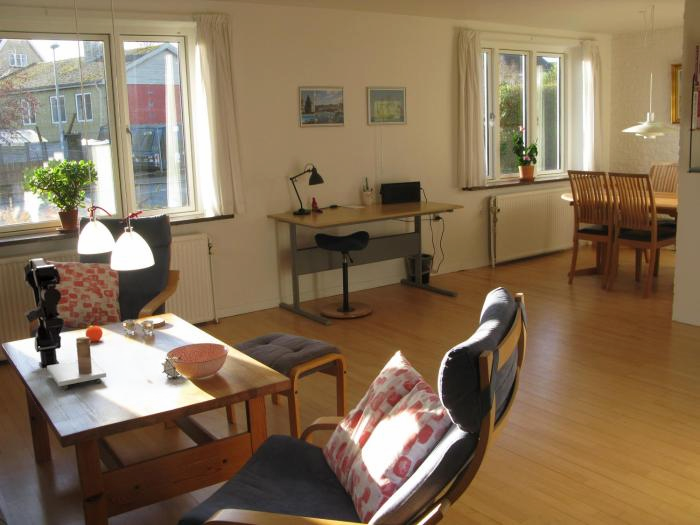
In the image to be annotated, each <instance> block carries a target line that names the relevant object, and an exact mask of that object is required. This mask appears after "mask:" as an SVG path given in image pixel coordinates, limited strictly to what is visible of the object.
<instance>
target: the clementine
mask: <svg viewBox="0 0 700 525" xmlns="http://www.w3.org/2000/svg"><path fill="white" fill-rule="evenodd" d="M84 330H85V337H89V338H90V342H94V343H95V342H98V341H99V340H101V339H102V337H103V330H102V328H101V327H100V326H98V325H88V327H87V328H85V329H84Z"/></svg>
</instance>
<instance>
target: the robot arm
mask: <svg viewBox="0 0 700 525" xmlns="http://www.w3.org/2000/svg"><path fill="white" fill-rule="evenodd" d="M22 273H23V274H22V275H23V281H24V282H26V287H27V288H28V289H29V290H30V291H31V293H32V296H33V301H34V308H32V309H30V310H27V311H25V312H23V315H24V317H25V319H26V321H27V322H28V323H33V322H35V320H37V322H38V323H37V324H38V328H37V330H36V333H35V336H34V337H35V338H34V350H35V351H36V352H37V353H39V354H40V355H39V356H40V362H38V364H39V366H40V367H41V368H47V366H49V365H55V364H60V362H59V361H58V358H57V349H61V348H62V345H61V344H62V342H61V341H62V336H60V334H61V332H62V329H63V327H64V325H65V322H64V318H63V317H61V316H60V312H59V309H58V305H59V302H60V301H61V299H62V293H61V292H60V290H58V289H57V287H56V286H57V285H60V284H61V283H60V282H61V276H60V271H59V269H58V268H57V267H55V265H54V264H47V263H46V262H45V260H44V258H41V257H40V258H31V259H29V260H28V263H27V264H26V265H25V266H24V267H23V272H22Z"/></svg>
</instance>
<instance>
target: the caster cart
mask: <svg viewBox="0 0 700 525" xmlns="http://www.w3.org/2000/svg"><path fill="white" fill-rule="evenodd" d="M91 366H92V372H91V373H89V374H79V370H78V359H77V360H72V361H71V360H70V361H67V362H59V364H55V365H49V366H47V367H46V368H47V369H46V370H47V372H48V373H49V374H50V376H51V377H52V379H53V380H54V382H55V383H56V385H57V386H58V387H61V386H62V388H63V391H68V390H69V385H72V384H77V383H83V382H88V381H93V380H95V384H96V385H97V384H101V379H103V378H107V373H106V371H105V370H104V369H103V368H102V367H101V366H100V365H99V364H98V362H96V361H95V359H93V357H91Z"/></svg>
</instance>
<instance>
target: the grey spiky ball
mask: <svg viewBox="0 0 700 525" xmlns="http://www.w3.org/2000/svg"><path fill="white" fill-rule="evenodd" d="M172 355H173V356H174V354H173V353H172V354H171V356H172ZM181 358H182V356H179V357H177V356H174V357H173V358H172V359H171V358H170V357H168V358H167V357H166V358H165V361H164V363H161V365H162V366H163V371H162V372H161V373H162V374H163V373H165V374H166V378H167V377H169V376H170V377H172V378H174V380H176V378H177V377H178V376H179V375H180V374H179V373H178V372H177V371H176V367H175V365H174V364H173V362H172V361H174V360H175V361H181V360H182V359H181Z"/></svg>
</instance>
